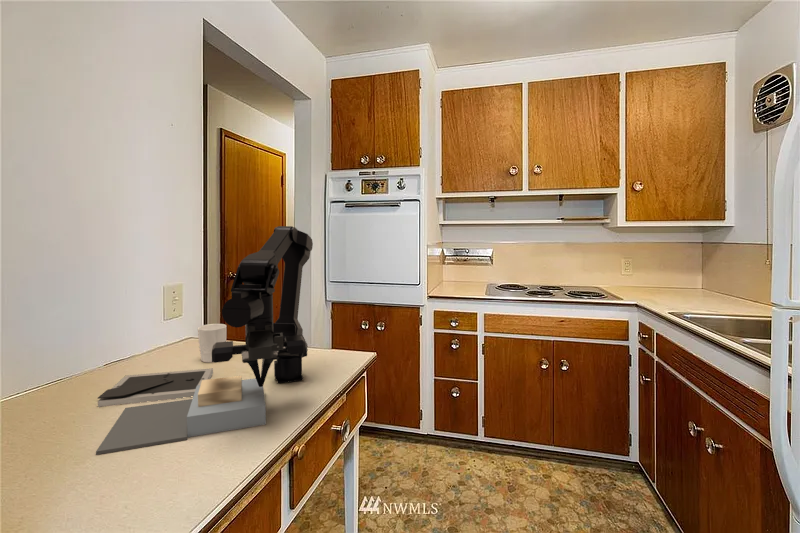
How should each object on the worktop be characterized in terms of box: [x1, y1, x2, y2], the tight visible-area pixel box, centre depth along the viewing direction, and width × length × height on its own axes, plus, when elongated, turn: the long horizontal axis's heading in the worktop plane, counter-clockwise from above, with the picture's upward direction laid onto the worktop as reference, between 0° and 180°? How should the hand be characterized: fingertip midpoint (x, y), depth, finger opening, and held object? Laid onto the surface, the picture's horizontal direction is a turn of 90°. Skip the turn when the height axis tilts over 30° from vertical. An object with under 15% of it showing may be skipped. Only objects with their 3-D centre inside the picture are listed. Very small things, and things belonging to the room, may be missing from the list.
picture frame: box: [97, 368, 214, 408], centre depth 97 cm, size 16×3×21 cm
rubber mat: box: [95, 398, 193, 456], centre depth 79 cm, size 14×18×1 cm
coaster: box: [198, 375, 243, 407], centre depth 83 cm, size 8×8×2 cm
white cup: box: [197, 323, 227, 363], centre depth 118 cm, size 8×8×10 cm
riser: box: [187, 377, 267, 438], centre depth 84 cm, size 14×16×4 cm
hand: (260, 386), depth 86 cm, fingers closed
